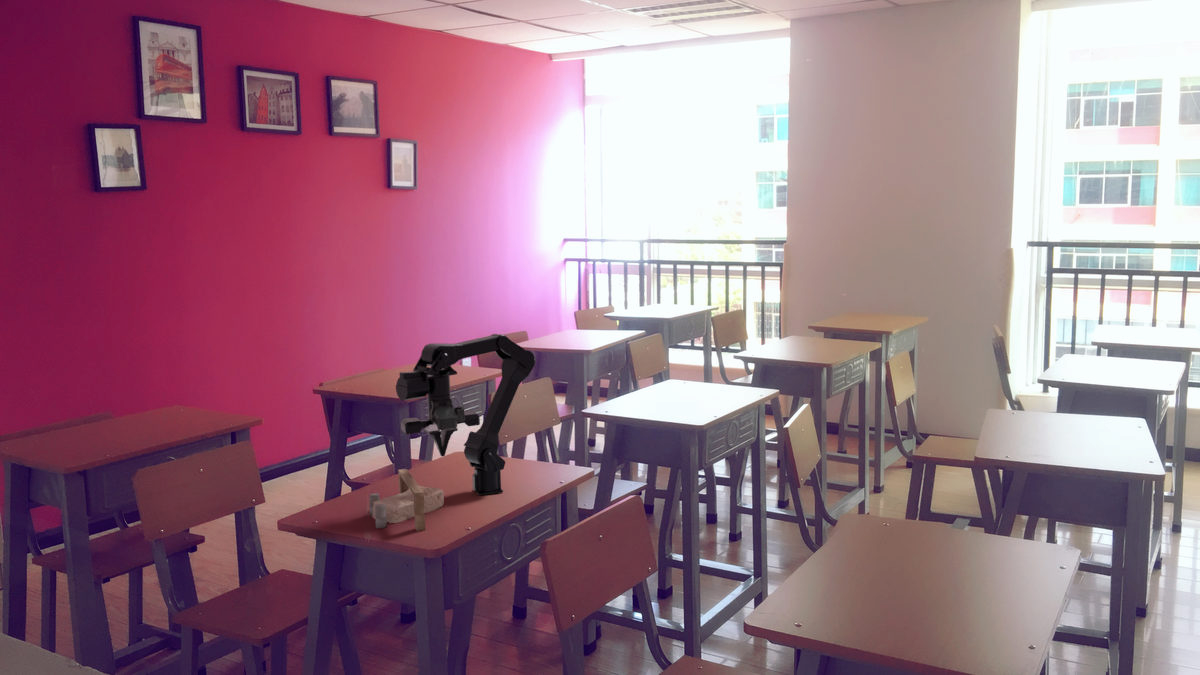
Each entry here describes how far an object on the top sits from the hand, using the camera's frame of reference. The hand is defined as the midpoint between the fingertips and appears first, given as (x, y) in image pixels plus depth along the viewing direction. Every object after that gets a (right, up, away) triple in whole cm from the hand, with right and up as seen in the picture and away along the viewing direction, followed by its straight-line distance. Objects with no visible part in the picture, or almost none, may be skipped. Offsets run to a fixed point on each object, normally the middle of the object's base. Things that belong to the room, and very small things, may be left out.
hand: (442, 455), depth 233 cm
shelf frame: (-9, -13, -12) cm, 20 cm away
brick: (-7, -13, -7) cm, 17 cm away
